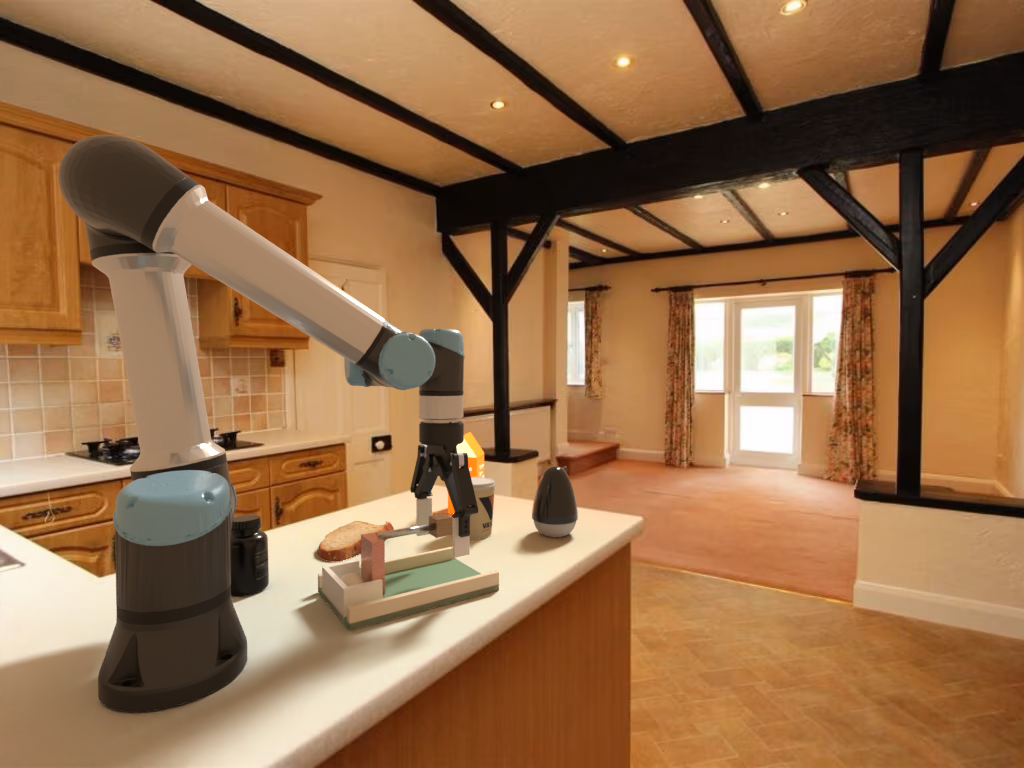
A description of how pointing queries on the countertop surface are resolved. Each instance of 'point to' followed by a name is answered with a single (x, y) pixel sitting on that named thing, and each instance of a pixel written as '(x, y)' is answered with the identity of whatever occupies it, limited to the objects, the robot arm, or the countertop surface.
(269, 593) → the countertop surface
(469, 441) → the orange juice
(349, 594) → the pitch
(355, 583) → the ball
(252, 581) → the supplement bottle
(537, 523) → the dark grey egg shape
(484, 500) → the coffee cup
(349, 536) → the slice of bread
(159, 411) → the robot arm
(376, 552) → the rod
